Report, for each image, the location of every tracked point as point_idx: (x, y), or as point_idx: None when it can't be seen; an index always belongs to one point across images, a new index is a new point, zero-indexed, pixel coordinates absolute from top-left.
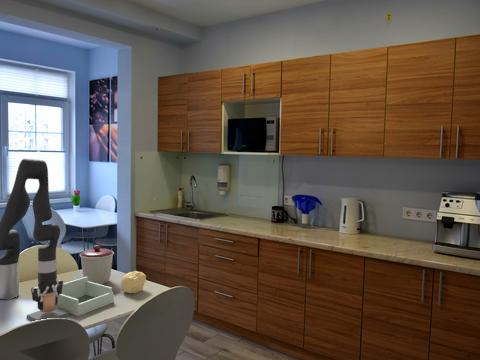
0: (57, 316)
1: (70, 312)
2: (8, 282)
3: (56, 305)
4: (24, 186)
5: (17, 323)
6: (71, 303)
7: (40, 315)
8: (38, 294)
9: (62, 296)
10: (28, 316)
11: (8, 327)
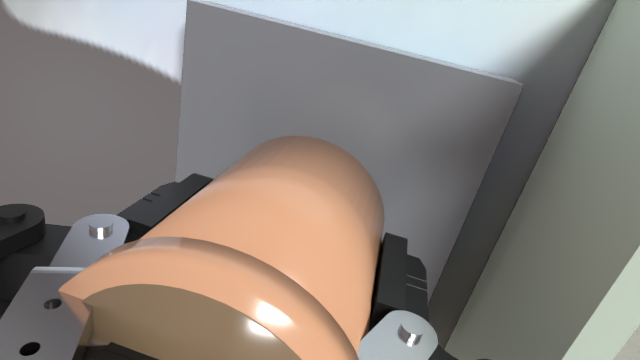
0: None
1: (462, 320)
2: None
3: (578, 116)
4: None
5: (97, 15)
6: None
7: None
8: (37, 280)
9: (567, 330)
10: (187, 41)
11: (14, 10)
